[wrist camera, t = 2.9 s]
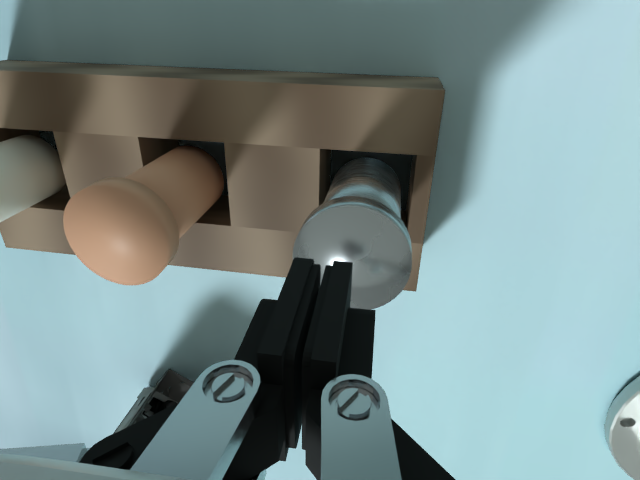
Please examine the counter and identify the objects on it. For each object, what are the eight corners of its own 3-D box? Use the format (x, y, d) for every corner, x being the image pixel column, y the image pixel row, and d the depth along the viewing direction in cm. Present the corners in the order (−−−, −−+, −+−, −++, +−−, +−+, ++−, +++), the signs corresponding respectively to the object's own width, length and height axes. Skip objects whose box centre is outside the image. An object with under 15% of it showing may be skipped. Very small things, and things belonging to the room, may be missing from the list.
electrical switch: (143, 389, 36) (72, 491, 28) (168, 347, 34) (99, 444, 26) (241, 442, 37) (202, 557, 29) (270, 405, 35) (238, 516, 27)
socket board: (438, 77, 22) (445, 90, 18) (414, 254, 26) (415, 291, 23) (6, 60, 25) (-59, 67, 21) (53, 219, 30) (5, 247, 26)
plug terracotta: (228, 140, 21) (158, 191, 15) (234, 217, 23) (174, 290, 17) (148, 134, 22) (50, 182, 16) (160, 211, 24) (78, 279, 18)
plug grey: (414, 152, 20) (419, 212, 14) (404, 233, 22) (404, 317, 16) (324, 146, 21) (292, 202, 15) (322, 225, 23) (293, 304, 17)
